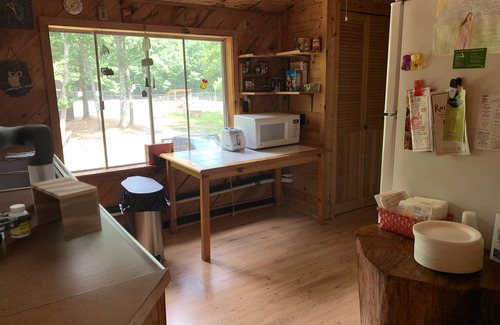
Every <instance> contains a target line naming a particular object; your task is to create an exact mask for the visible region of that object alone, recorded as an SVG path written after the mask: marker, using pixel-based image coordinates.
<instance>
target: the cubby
mask: <svg viewBox="0 0 500 325" xmlns="http://www.w3.org/2000/svg"><path fill="white" fill-rule="evenodd" d="M30 188H32V190H31V195H33V197H32V202H34V203H33V207H34V214H35V221H36V226H42V225H44V224H47V223H51V222H54V221H58V220H62V222H61V223H62V228H63V236H64V242H66V243H67V242H70V241H73V240H75V239H79V238H81V237H85V236H88V235H90V234H94V233H96V232H99V231H102V230H103V226H102V218H101V208H100V200H99V191H98V186H95V185H92V184H89V183H85V182H83V181H80V180H77V179H73V178H71V177H67V176H63V177H57V178H56V179H52V180H47V181H42V182H37V183H32V184H31V183H30Z"/></svg>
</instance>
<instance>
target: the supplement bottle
mask: <svg viewBox="0 0 500 325" xmlns="http://www.w3.org/2000/svg"><path fill="white" fill-rule="evenodd" d="M9 211H10V214H9V215H8V217H9V218H13V217H19V216H23V215H27V214H29V212H28V211H27V210H26V207H25V204H22V203H17V204H13V205H10V207H9ZM11 224H14V223H11ZM11 227H12V226H11ZM9 232H10V238H15V239H18V238H19V239H21V238H25V237H27V236H29V235H30V234H31V232H32V231H31V224H30V221H29V222H25V223H21V224H19V227H17V228H14V229H11V230H9Z"/></svg>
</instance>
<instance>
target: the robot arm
mask: <svg viewBox="0 0 500 325" xmlns="http://www.w3.org/2000/svg"><path fill="white" fill-rule="evenodd" d="M54 146H55V145H54V135H53V131H52V130H51V128H50V127H49V126H48V125H46V124H25V125H17V126H11V127H7V126H6V127H5V126H1V125H0V151H2V150H3V149H6V148H8V147H25V148H34V154H33V155H31V156H28V157H27V159H26V163H27V168H28V175H29V176H28V177H29V182H30V185H31V184H32V183H37V182H42V181H47V180H52V179H57V178H56V172H55V171H56V170H55V164H54V157H55V147H54ZM30 188H31V187H30ZM31 191H32V188H31ZM31 195H32V194H31ZM32 198H33V195H32ZM32 202H33V201H32ZM33 204H34V202H33ZM10 213H11V212H9V211H8V212H6V211H4V210H3V211H0V234H1V233H6V232H8V231H9V232H10V230H11V229H14V228H17V227H19V224H21V223H25V222H29V223H30V222H31V221H32V220H33V217H32V214H30V213H28V214H27V215H23V216H19V217H13V218H9V217H8V215H9V214H10ZM11 223H14V224H11ZM11 226H12V227H11Z"/></svg>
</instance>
